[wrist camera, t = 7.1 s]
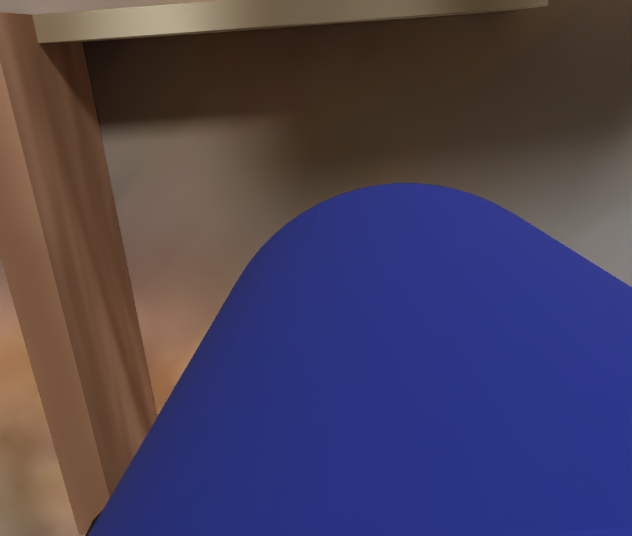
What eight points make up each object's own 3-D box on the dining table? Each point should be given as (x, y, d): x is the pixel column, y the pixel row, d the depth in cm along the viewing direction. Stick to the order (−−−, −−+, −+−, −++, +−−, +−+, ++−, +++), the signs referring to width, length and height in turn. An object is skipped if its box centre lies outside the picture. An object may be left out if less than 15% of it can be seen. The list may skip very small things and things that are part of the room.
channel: (514, -15, 20) (585, -34, 15) (491, 416, 27) (535, 516, 21) (36, 21, 21) (-68, 15, 15) (128, 433, 28) (79, 534, 22)
